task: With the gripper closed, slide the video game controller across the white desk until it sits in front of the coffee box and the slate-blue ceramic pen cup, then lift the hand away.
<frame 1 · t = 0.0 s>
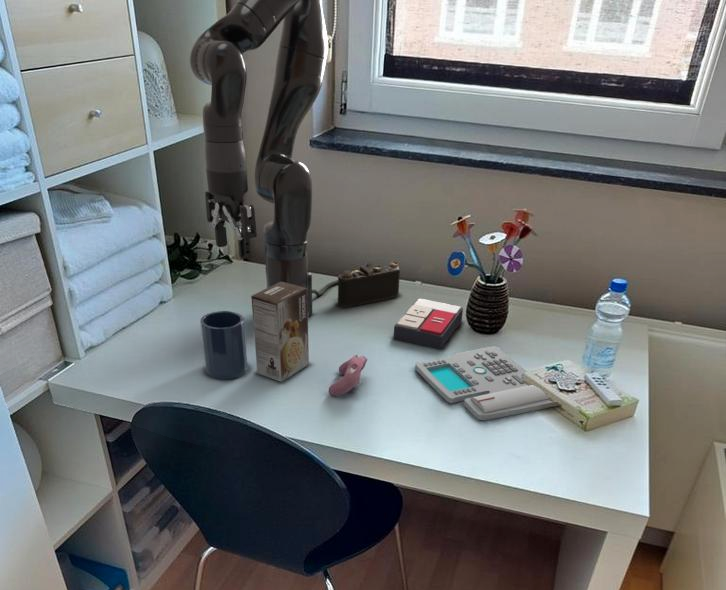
hand: (233, 252, 137), 17 cm above the table, tool pointing down, fingers open, 8 cm apart
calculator: (428, 331, 151), on the table
camera: (366, 298, 164), on the table
office telephone: (483, 386, 132), on the table
coffee box: (283, 370, 135), on the table
pen cup: (227, 369, 133), on the table
video game controller: (348, 387, 130), on the table
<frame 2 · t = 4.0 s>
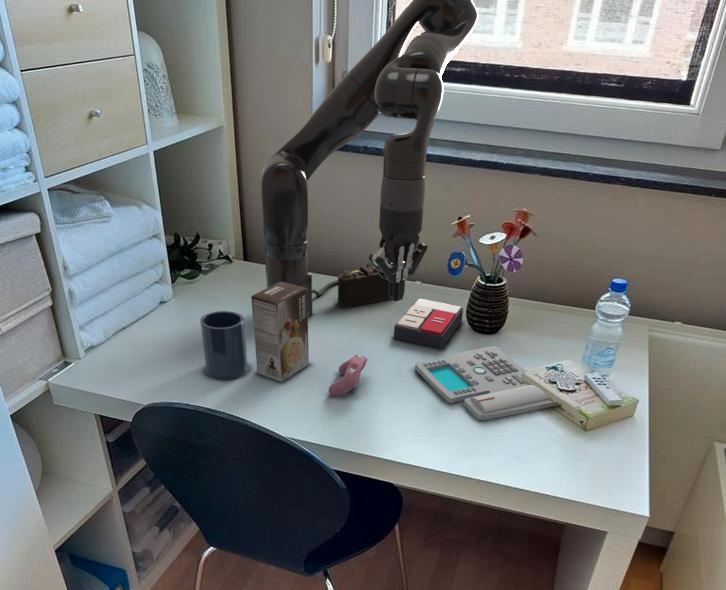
hand: (395, 299, 127), 15 cm above the table, tool pointing down, fingers closed
nothing on the table moved.
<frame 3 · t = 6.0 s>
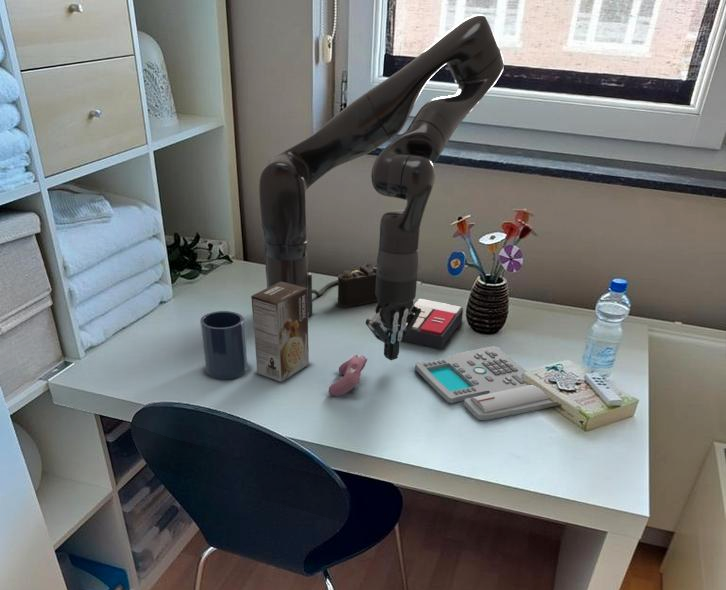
hand: (391, 357, 134), 3 cm above the table, tool pointing down, fingers closed
nothing on the table moved.
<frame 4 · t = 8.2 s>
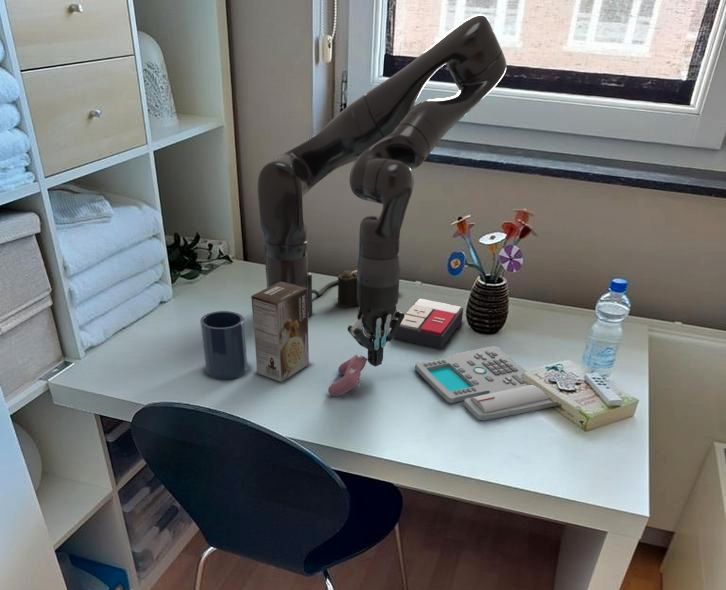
hand: (375, 364, 132), 3 cm above the table, tool pointing down, fingers closed
video game controller: (348, 387, 130), on the table, touching gripper
everything else where it was.
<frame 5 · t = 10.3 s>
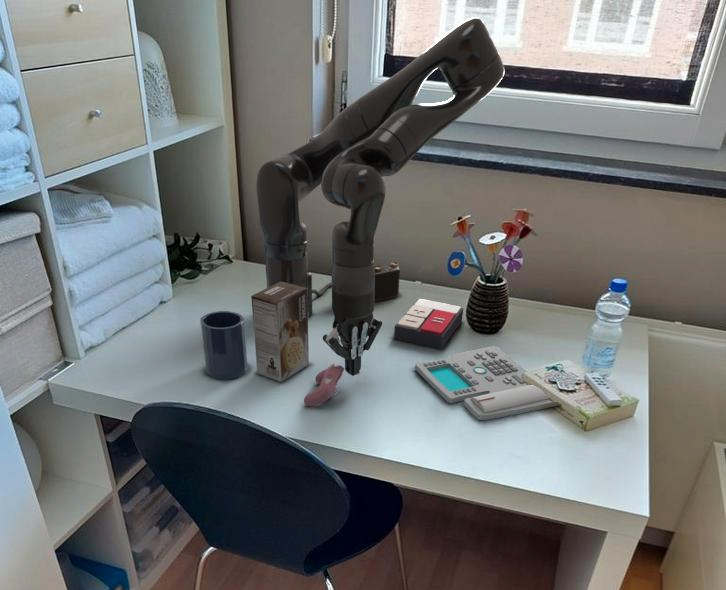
hand: (353, 373, 129), 3 cm above the table, tool pointing down, fingers closed
video game controller: (325, 397, 127), on the table, touching gripper
everything else where it was.
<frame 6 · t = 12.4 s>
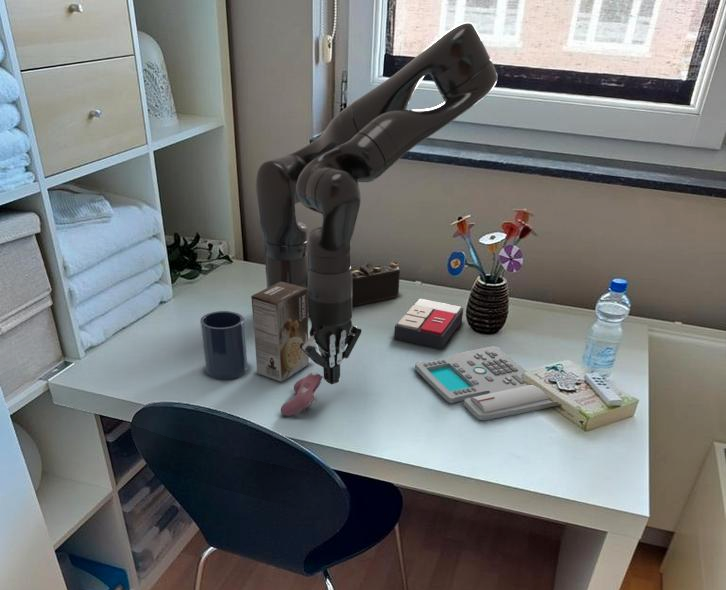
hand: (332, 381, 126), 3 cm above the table, tool pointing down, fingers closed
video game controller: (303, 406, 124), on the table, touching gripper
everything else where it was.
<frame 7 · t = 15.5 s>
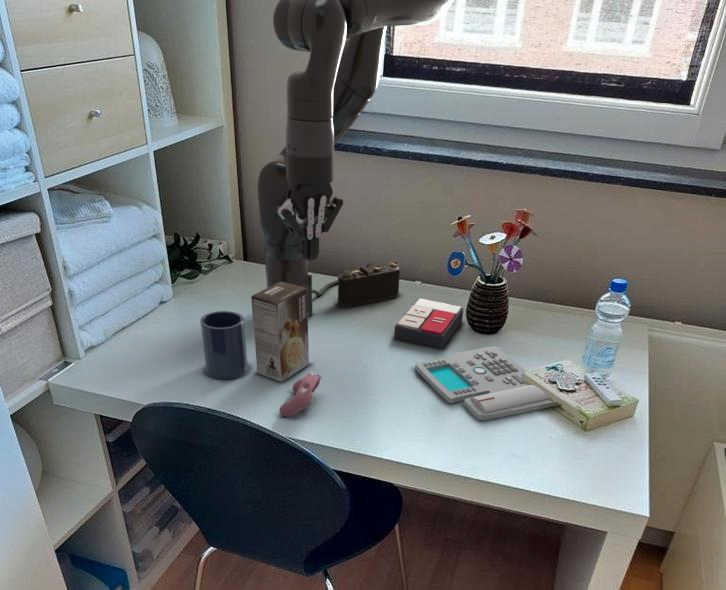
hand: (310, 258, 117), 24 cm above the table, tool pointing down, fingers closed
video game controller: (302, 406, 124), on the table
everything else where it was.
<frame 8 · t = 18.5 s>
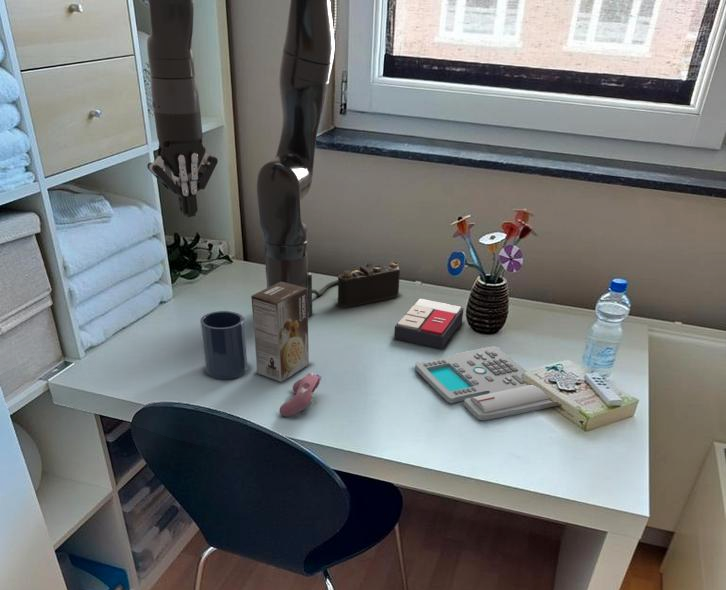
hand: (189, 215, 123), 27 cm above the table, tool pointing down, fingers closed
nothing on the table moved.
at the end: video game controller inside the target area on the table beside the coffee box (0.7 cm from its centre), on the table; video game controller inside the target area on the table beside the pen cup (1.2 cm from its centre), on the table; coffee box moved 0.2 cm from its start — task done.
